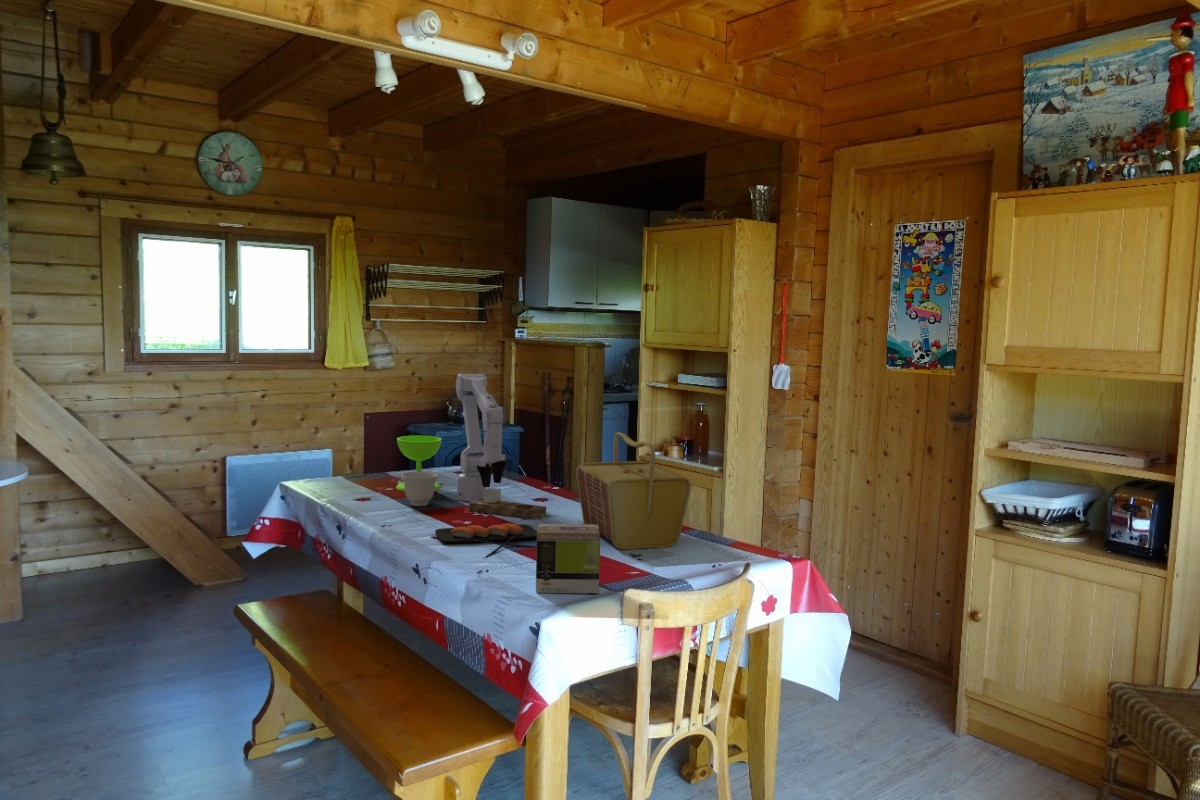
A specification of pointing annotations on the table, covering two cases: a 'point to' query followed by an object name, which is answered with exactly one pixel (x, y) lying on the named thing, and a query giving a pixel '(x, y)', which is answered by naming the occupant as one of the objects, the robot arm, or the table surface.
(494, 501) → the beige rectangular block
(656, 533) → the picnic basket
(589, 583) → the tea box
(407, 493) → the teacup
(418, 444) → the wineglass
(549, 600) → the table surface
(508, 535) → the sushi plate
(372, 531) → the table surface
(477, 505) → the wooden compartment tray
